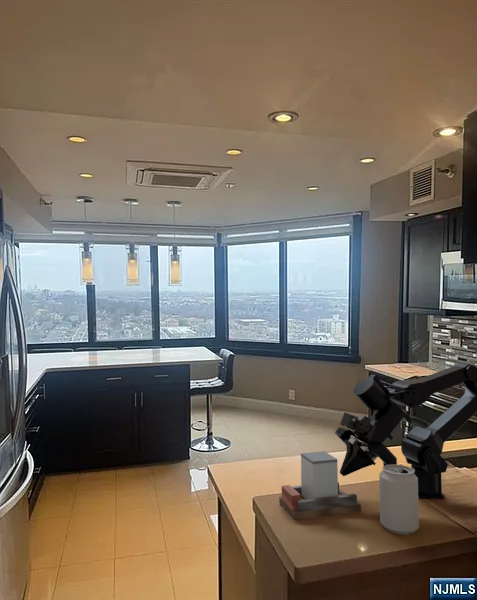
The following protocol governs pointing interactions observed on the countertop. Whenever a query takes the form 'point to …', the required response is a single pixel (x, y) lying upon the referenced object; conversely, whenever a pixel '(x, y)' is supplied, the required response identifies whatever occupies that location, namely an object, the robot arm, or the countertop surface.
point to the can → (399, 499)
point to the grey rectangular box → (318, 475)
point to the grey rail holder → (316, 503)
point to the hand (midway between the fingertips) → (341, 474)
